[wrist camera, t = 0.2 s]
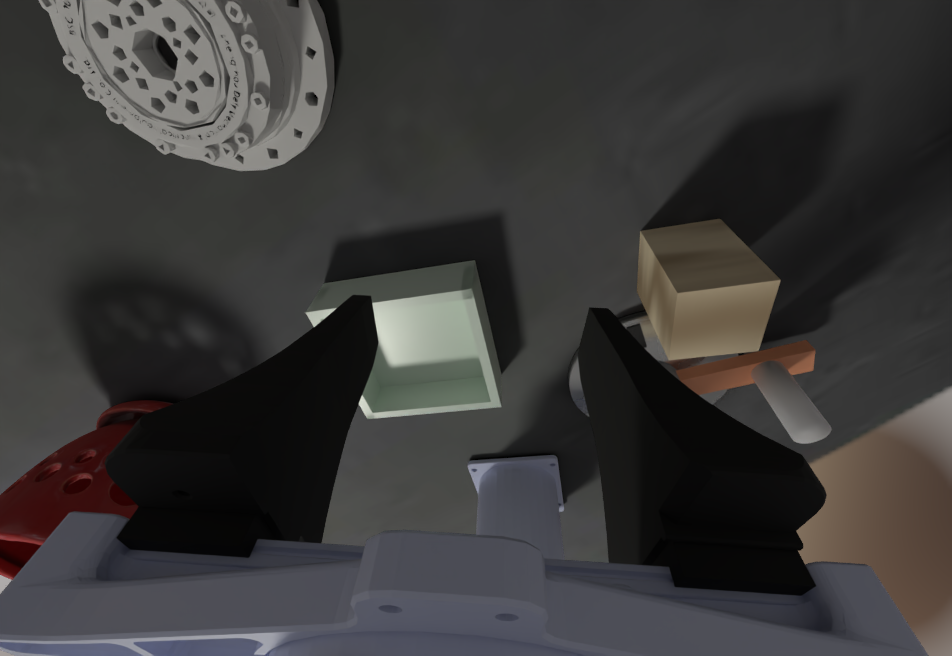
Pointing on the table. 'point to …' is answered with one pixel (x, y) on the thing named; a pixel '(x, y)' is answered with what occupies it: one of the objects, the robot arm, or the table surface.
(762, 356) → the crank
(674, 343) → the brown block
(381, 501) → the table surface
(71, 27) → the mechanical component
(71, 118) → the table surface
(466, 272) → the tray
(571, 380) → the dial plate
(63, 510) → the plant pot
